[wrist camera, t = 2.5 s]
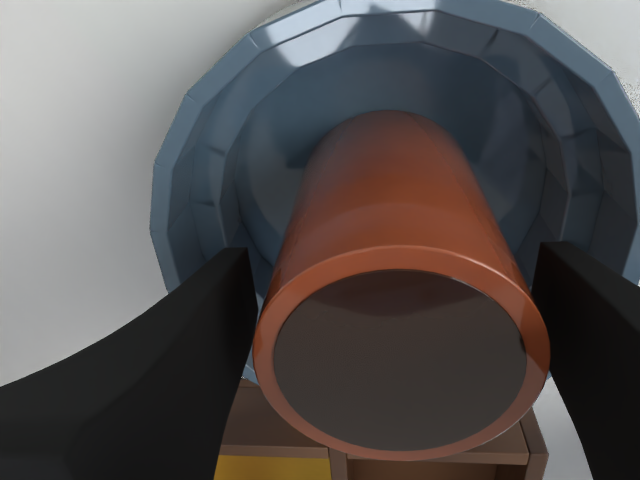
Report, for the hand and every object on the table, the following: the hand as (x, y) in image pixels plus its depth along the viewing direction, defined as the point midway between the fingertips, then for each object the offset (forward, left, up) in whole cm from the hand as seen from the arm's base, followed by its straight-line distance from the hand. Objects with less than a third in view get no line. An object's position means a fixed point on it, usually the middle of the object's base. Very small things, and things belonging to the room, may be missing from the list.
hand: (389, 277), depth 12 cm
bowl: (0, 0, -5) cm, 5 cm away
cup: (0, 0, -5) cm, 5 cm away
